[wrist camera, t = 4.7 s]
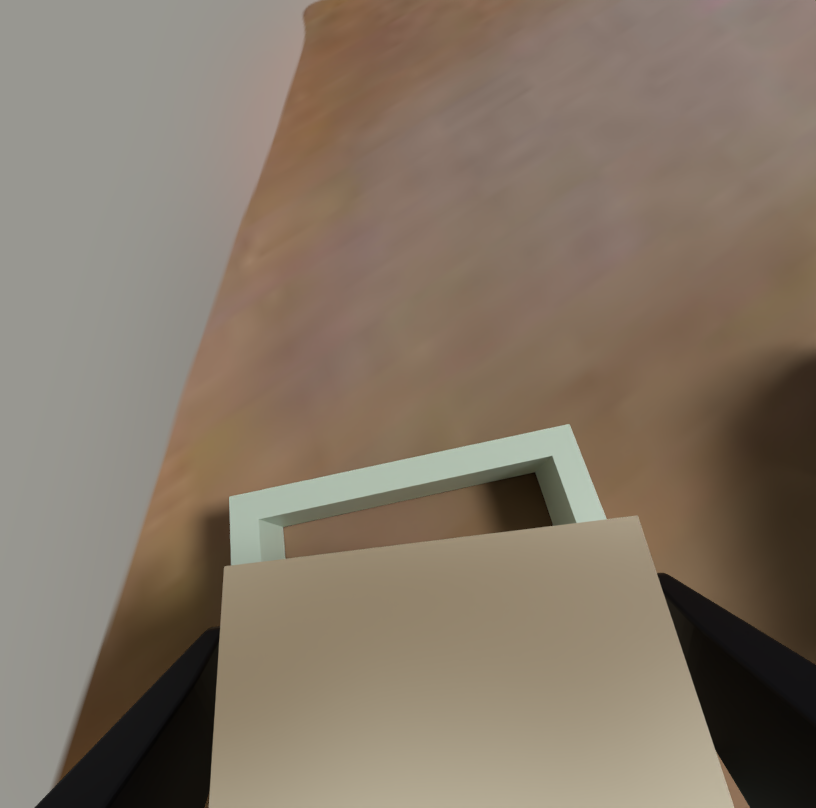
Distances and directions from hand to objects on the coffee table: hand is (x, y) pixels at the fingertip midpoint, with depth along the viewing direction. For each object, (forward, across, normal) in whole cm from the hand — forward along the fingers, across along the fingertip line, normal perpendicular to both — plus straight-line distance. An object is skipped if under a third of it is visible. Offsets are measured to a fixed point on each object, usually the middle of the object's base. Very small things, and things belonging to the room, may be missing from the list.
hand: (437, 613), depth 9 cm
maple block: (+4, 0, +6) cm, 7 cm away
